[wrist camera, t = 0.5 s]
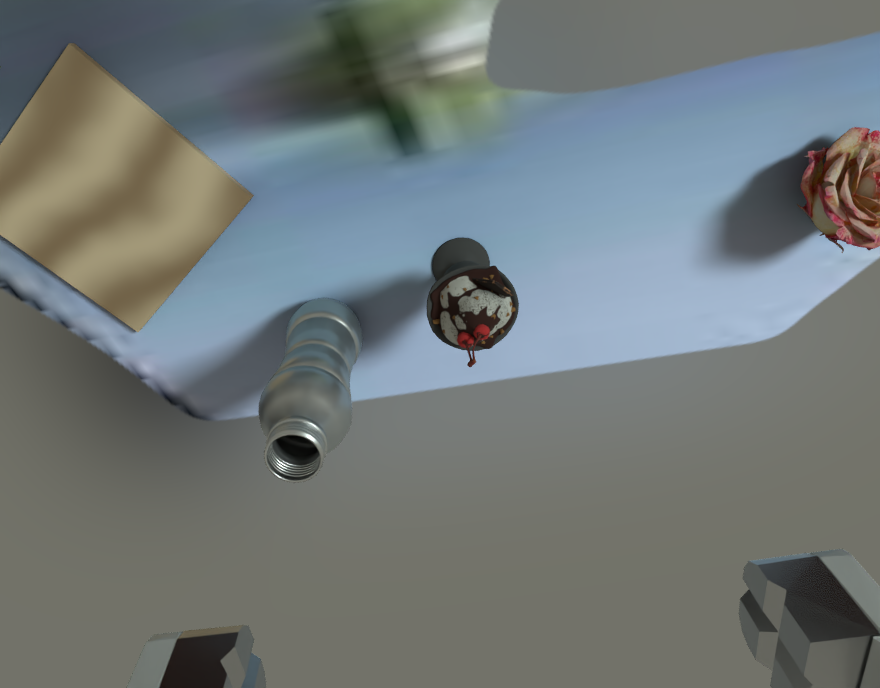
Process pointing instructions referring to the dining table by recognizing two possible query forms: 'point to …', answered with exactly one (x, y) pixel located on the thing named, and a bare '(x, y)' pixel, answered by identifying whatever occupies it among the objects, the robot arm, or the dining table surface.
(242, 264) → the dining table surface
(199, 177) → the tan square board
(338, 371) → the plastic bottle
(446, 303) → the sundae
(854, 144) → the flower
